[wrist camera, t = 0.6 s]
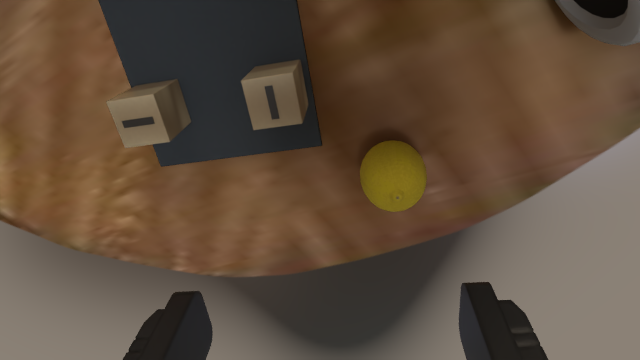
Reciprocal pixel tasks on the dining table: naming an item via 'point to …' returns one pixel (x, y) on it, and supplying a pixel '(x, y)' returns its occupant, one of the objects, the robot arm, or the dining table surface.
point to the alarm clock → (605, 19)
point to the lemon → (393, 175)
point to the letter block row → (172, 115)
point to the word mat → (213, 68)
